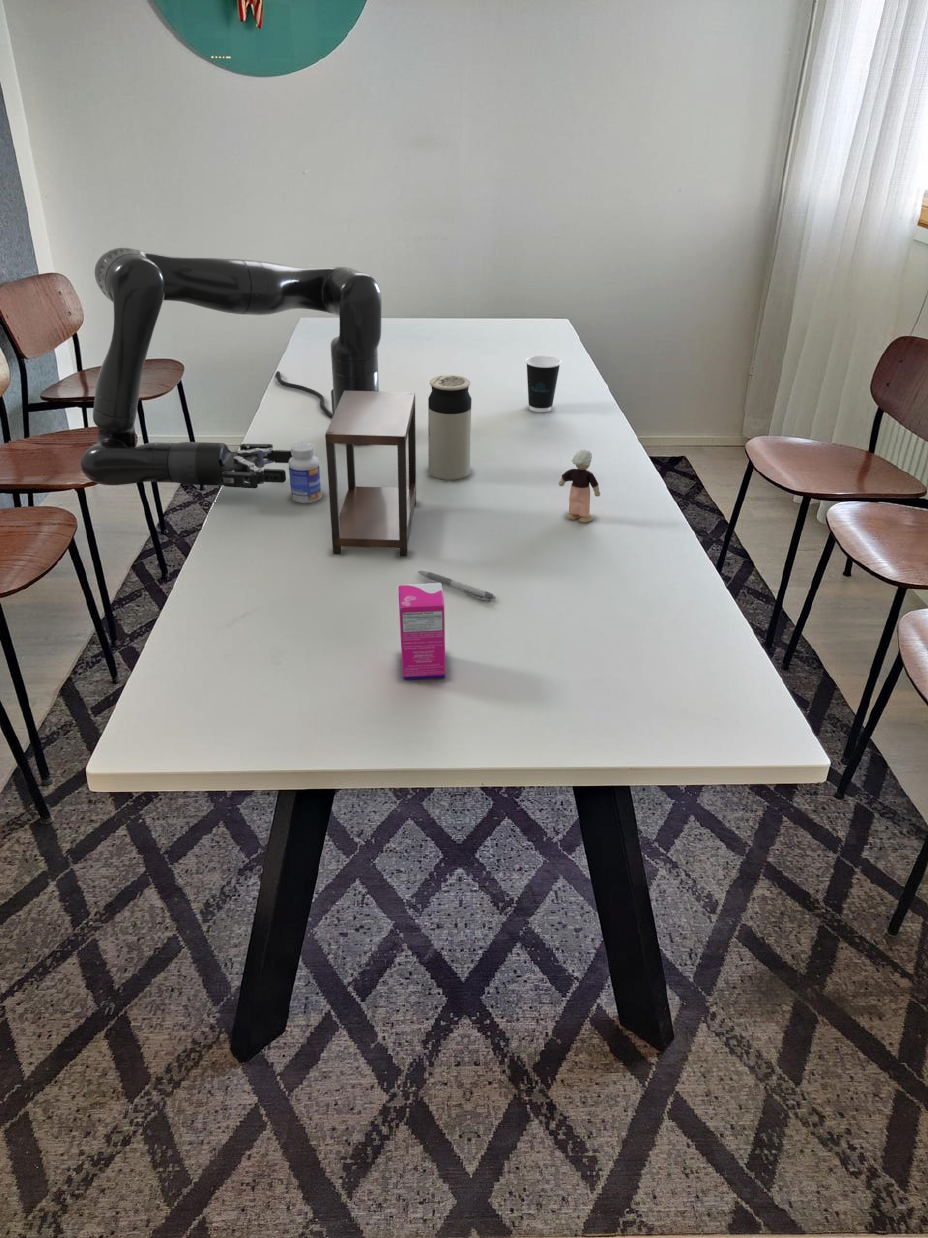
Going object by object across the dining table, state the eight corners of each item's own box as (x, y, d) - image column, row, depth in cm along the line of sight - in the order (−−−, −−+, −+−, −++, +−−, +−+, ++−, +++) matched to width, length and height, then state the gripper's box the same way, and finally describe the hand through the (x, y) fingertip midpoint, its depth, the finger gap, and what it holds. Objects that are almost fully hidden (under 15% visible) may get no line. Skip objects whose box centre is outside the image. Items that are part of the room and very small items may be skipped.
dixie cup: (532, 416, 203) (535, 367, 197) (516, 405, 209) (519, 357, 203) (563, 412, 205) (567, 363, 199) (547, 401, 211) (551, 353, 205)
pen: (493, 604, 136) (493, 596, 135) (415, 577, 142) (415, 569, 141) (496, 601, 136) (497, 593, 135) (419, 575, 142) (419, 567, 142)
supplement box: (399, 655, 124) (398, 582, 118) (443, 654, 124) (444, 581, 118) (401, 681, 119) (399, 606, 113) (446, 679, 119) (447, 605, 113)
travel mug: (476, 469, 177) (478, 378, 168) (459, 484, 171) (460, 390, 162) (439, 461, 180) (440, 371, 170) (421, 476, 174) (420, 383, 164)
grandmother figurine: (600, 516, 161) (608, 448, 154) (596, 525, 158) (603, 457, 151) (558, 509, 163) (563, 442, 156) (553, 518, 160) (558, 450, 153)
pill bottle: (315, 505, 162) (312, 454, 157) (287, 502, 163) (282, 451, 158) (325, 492, 167) (322, 442, 162) (297, 489, 168) (293, 439, 163)
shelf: (333, 554, 147) (325, 434, 136) (349, 501, 164) (344, 390, 153) (407, 556, 147) (405, 436, 136) (416, 503, 164) (415, 392, 153)
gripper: (185, 459, 154) (280, 462, 154) (207, 428, 166) (296, 431, 166) (191, 499, 158) (284, 502, 158) (213, 467, 170) (299, 469, 170)
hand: (290, 466), depth 162 cm, fingers open, 8 cm apart
